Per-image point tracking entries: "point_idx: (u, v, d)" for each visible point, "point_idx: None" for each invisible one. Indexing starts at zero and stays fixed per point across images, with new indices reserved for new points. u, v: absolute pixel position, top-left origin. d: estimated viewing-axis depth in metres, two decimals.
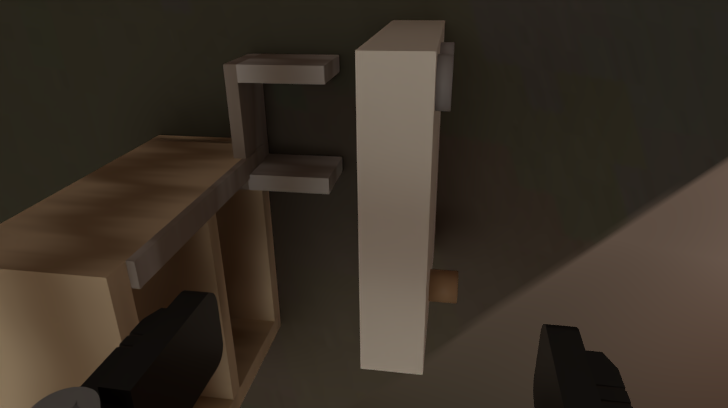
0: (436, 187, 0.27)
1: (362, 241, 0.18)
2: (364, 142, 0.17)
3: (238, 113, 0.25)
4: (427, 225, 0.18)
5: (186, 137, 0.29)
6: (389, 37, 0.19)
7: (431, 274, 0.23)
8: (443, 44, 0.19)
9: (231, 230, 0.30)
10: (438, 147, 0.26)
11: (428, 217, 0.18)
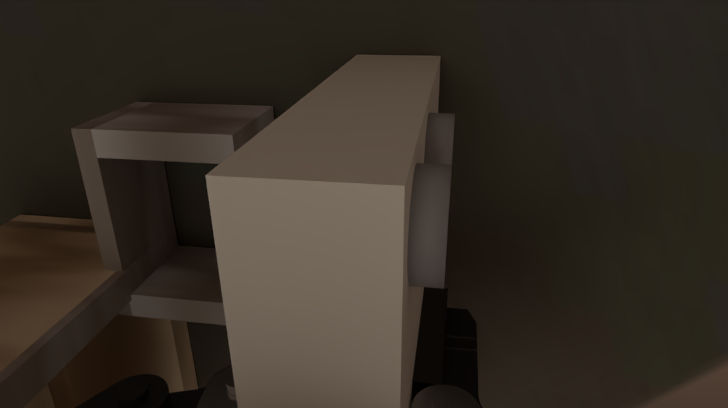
0: None
1: None
2: (248, 365, 0.07)
3: (104, 205, 0.15)
4: None
5: (57, 220, 0.19)
6: (322, 110, 0.09)
7: None
8: (432, 119, 0.10)
9: (128, 352, 0.20)
10: None
11: None
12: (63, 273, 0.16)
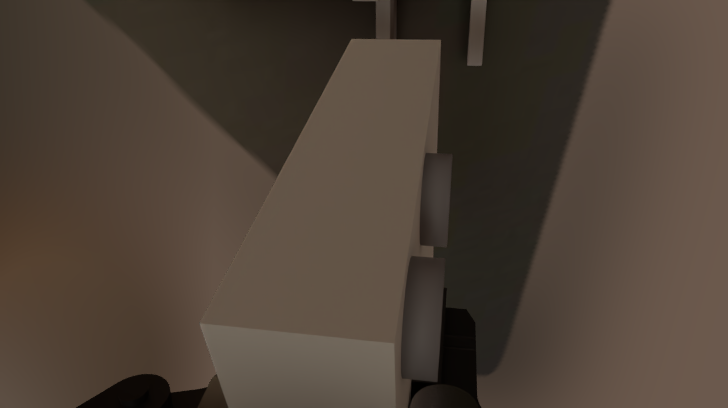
0: None
1: None
2: None
3: None
4: None
5: None
6: (314, 176, 0.09)
7: None
8: (428, 169, 0.10)
9: None
10: None
11: None
12: None
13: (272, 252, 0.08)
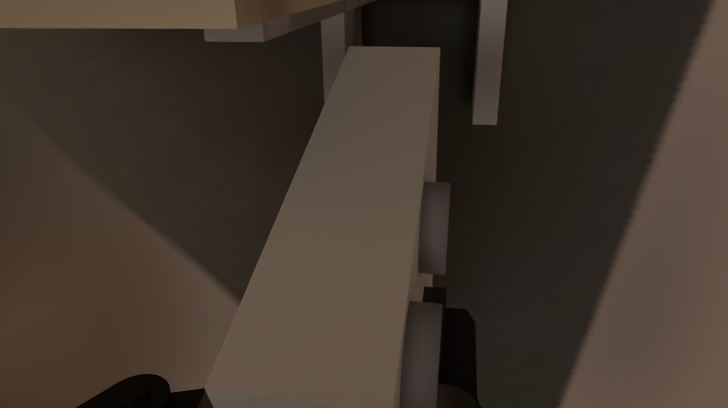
0: (430, 284, 0.18)
1: None
2: None
3: None
4: None
5: None
6: (313, 216, 0.09)
7: None
8: (427, 203, 0.10)
9: None
10: None
11: None
12: None
13: (273, 306, 0.08)
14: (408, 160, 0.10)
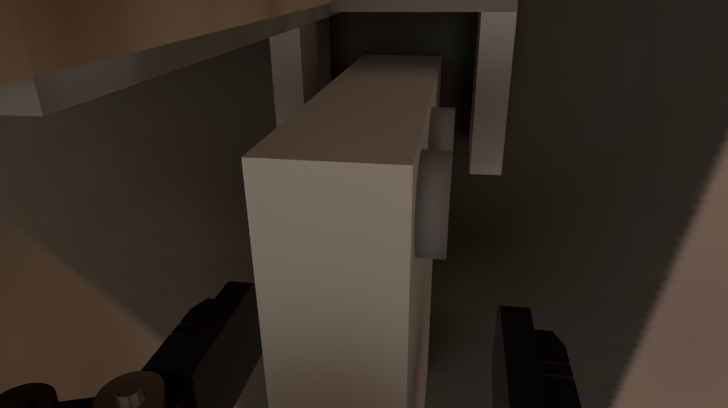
0: (429, 297, 0.18)
1: None
2: (274, 326, 0.09)
3: (420, 7, 0.13)
4: None
5: None
6: (336, 104, 0.10)
7: None
8: (435, 113, 0.11)
9: None
10: None
11: None
12: None
13: (303, 132, 0.09)
14: (418, 88, 0.12)
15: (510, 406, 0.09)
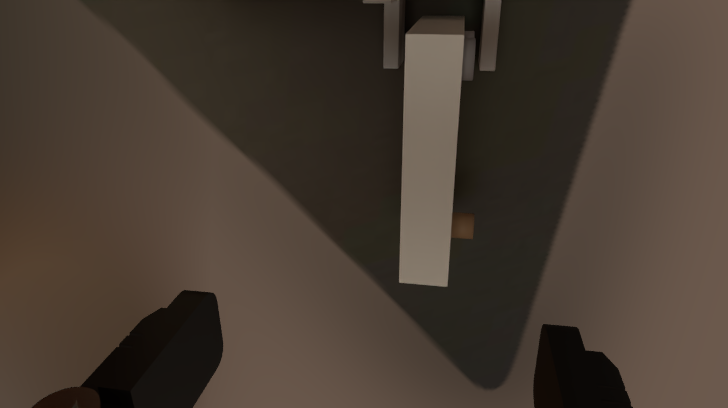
0: None
1: (404, 179, 0.25)
2: (409, 102, 0.23)
3: None
4: (454, 165, 0.24)
5: None
6: (426, 26, 0.25)
7: (452, 215, 0.29)
8: (466, 32, 0.26)
9: None
10: None
11: (455, 159, 0.24)
12: None
13: (420, 30, 0.23)
14: (457, 23, 0.26)
15: None
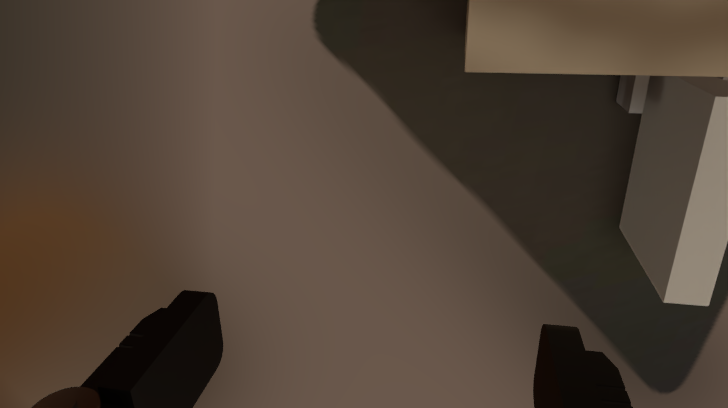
0: None
1: (688, 215, 0.29)
2: (707, 152, 0.27)
3: None
4: None
5: None
6: (702, 83, 0.29)
7: None
8: None
9: None
10: None
11: None
12: None
13: (715, 91, 0.27)
14: (718, 78, 0.30)
15: None
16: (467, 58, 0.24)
